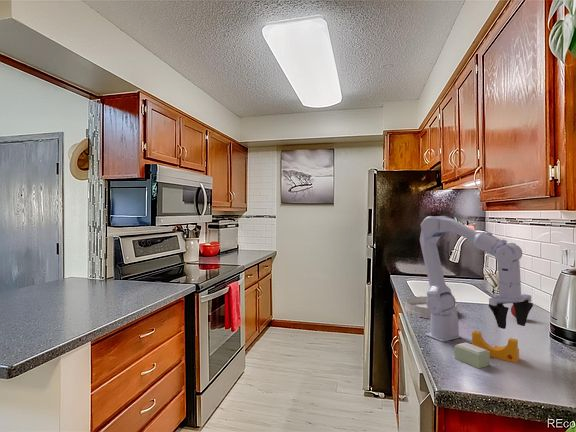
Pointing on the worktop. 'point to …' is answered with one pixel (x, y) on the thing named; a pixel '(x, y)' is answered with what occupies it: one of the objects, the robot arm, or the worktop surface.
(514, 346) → the pipe clamp
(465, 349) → the pale green block
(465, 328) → the worktop surface
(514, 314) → the onion
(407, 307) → the dish
